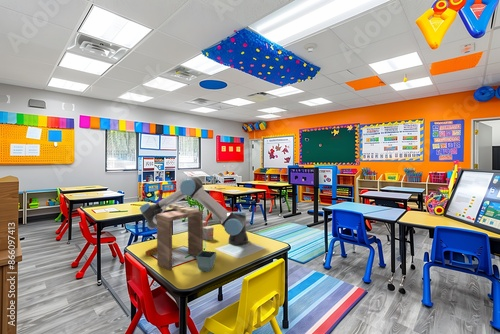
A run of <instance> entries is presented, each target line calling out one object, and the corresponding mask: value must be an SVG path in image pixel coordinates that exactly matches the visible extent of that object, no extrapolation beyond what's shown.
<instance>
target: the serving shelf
mask: <svg viewBox="0 0 500 334" xmlns="http://www.w3.org/2000/svg"><path fill="white" fill-rule="evenodd" d="M203 215H204V210H199V212H195V213H190V214H188V213H184V212H180V210H178V211H171V212H166V213H160V214H156V218H157V228H156V247H157V250H156V254H157V255H156V256H157V258H156V259H157V260H156V261H157V263H156V264H157V265H158V266H160V267H162V268H164V269H165V270H168V271H171V270H173V221H176V220H177V221H178V220H181V219H186V218H187V244H188V245H187V253H188V254H189V255H192V256H194V257H196V256H197V255H198V254H199V253H200V252H201V251H204V239H203V221H204V220H203V219H204V218H203Z"/></svg>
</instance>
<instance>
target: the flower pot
mask: <svg viewBox="0 0 500 334" xmlns="http://www.w3.org/2000/svg"><path fill="white" fill-rule="evenodd" d="M216 254H217V251H208V250H203V251H201V252H200V253H199V254H198V255H197V256H195V257H196V264H197V267H198V269H199V270H200V272H207V273H208V272H210V271H211V270H212V269H213V267H214V266H215V263H216V256H217V255H216Z"/></svg>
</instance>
